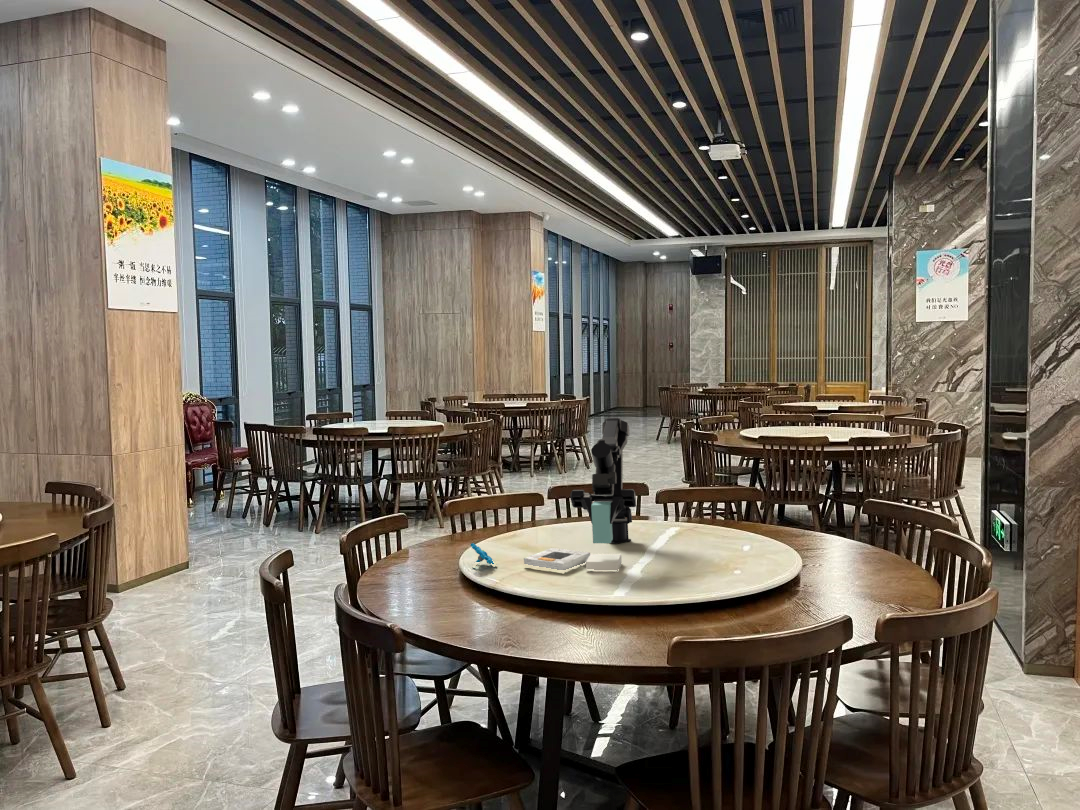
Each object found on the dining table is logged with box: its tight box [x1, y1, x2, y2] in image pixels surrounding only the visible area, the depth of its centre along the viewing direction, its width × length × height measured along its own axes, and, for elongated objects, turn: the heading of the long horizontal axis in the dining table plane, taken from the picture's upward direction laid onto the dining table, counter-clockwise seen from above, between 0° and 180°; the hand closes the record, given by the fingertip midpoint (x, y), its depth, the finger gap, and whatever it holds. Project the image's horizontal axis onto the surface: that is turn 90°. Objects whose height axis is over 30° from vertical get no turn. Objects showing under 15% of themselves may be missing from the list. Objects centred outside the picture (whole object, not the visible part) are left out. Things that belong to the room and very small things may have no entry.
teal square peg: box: [591, 501, 613, 544], centre depth 253 cm, size 5×5×11 cm
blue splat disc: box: [470, 542, 494, 565], centre depth 262 cm, size 11×6×10 cm
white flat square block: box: [585, 553, 623, 572], centre depth 254 cm, size 9×9×3 cm
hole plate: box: [523, 547, 591, 570], centre depth 260 cm, size 14×14×3 cm
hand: (601, 523), depth 252 cm, fingers closed on teal square peg, 5 cm apart
